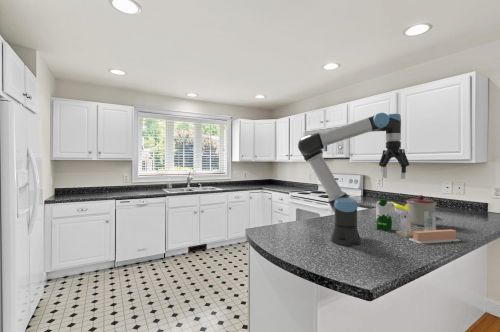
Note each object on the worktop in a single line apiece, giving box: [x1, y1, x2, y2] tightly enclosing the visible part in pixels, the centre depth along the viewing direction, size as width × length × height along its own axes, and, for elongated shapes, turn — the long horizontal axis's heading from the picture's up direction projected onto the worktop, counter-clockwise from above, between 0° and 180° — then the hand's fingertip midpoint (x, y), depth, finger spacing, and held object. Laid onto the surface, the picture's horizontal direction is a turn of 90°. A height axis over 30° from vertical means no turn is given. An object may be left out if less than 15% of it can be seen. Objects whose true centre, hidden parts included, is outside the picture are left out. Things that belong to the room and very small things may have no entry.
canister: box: [405, 194, 437, 227], centre depth 182 cm, size 18×18×21 cm
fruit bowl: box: [391, 201, 409, 217], centre depth 213 cm, size 28×27×11 cm
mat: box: [408, 237, 461, 245], centre depth 142 cm, size 27×7×1 cm, turn 102°
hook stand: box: [395, 212, 437, 238], centre depth 155 cm, size 24×8×13 cm, turn 102°
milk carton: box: [375, 198, 393, 232], centre depth 166 cm, size 9×9×20 cm
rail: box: [412, 229, 457, 241], centre depth 142 cm, size 26×3×4 cm, turn 102°
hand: (393, 178), depth 145 cm, fingers open, 13 cm apart
